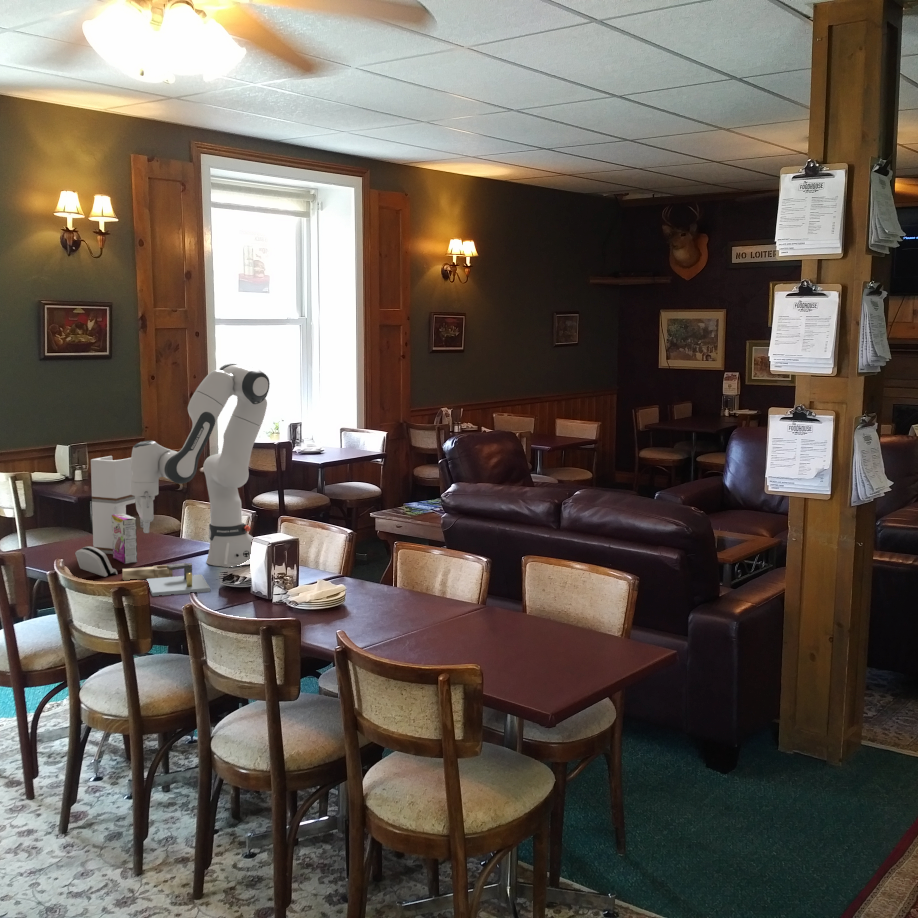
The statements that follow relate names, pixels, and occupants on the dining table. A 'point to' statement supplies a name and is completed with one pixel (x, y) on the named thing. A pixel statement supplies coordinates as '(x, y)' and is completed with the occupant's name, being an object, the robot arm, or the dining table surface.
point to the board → (177, 585)
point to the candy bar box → (124, 538)
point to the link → (146, 572)
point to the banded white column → (109, 497)
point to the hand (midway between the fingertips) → (144, 529)
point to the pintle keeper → (187, 571)
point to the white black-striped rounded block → (94, 561)
